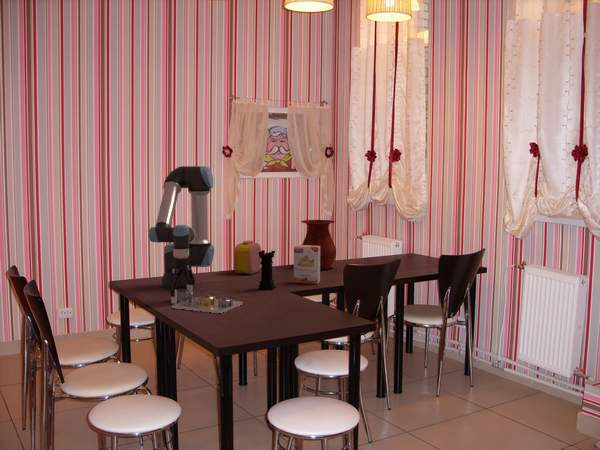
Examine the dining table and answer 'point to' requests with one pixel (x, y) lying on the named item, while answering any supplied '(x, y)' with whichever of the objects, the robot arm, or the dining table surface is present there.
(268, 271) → the chess piece
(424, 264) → the dining table surface
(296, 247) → the cracker box
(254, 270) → the lunch box
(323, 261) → the vase
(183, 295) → the gear
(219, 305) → the carrier
